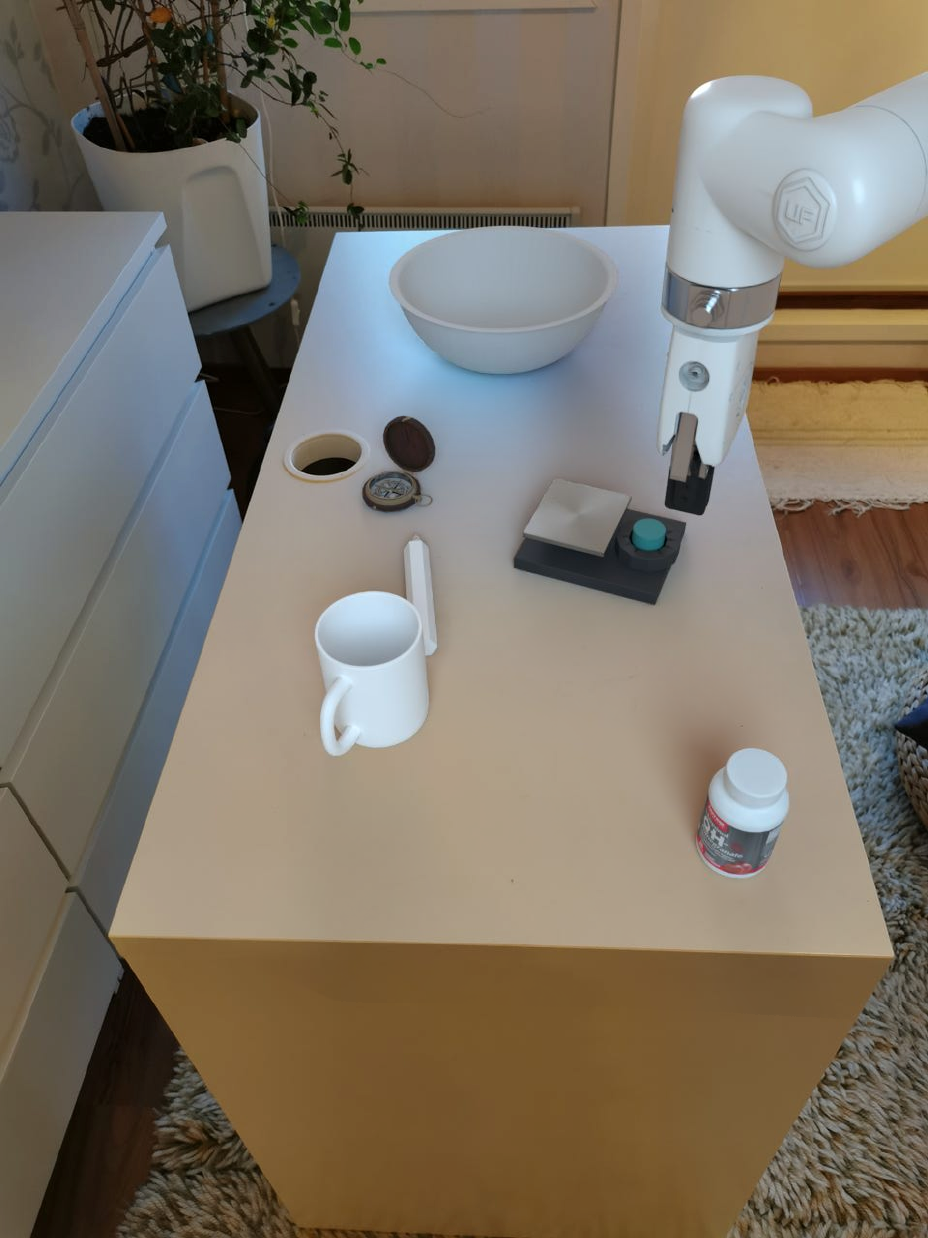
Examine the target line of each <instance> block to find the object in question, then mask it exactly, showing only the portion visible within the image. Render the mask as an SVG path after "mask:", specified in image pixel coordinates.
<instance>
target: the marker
mask: <svg viewBox="0 0 928 1238" xmlns="http://www.w3.org/2000/svg"><path fill="white" fill-rule="evenodd" d="M430 559H431V558H430V548H429V546H428V545H427V544H426V543H425V542H424V541H423V540H422V539H421V538H420V536H419V535H418V534H417V531H414V534H413V536H412V538H411V539H410V540H409V541H408V543H407V544H406V545H405V547H404V549H403V562H404V578H405V592H406V595H405V596H406V600H407V601H409V602H410V603H411V604H412V605H413V606H414V607H415V608H416V609H417V611H418V612H419V614H420V616H421V619H422V625H423V636H424V647H425V657H426V656H432V655H433V654H434V652H435V651H436V649H437V648H438V637H437V626H436V614H435V602H434V593H433V582H432V581H433V580H432V572H431V571H432V570H431V560H430Z"/></svg>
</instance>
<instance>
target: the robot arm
mask: <svg viewBox="0 0 928 1238" xmlns="http://www.w3.org/2000/svg"><path fill="white" fill-rule="evenodd" d="M679 131H680V132H679V139H678V147H677V148H678V149H677V158H676V167H675V176H674V183H673V194H672V201H671V202H672V203H671V212H670V221H669V230H668V239H667V247H666V257H665V265H664V273H663V274H664V276H663V283H662V284H663V285H662V292H661V300H660V311H661V314H662V316H663V317H664V318H665V320H666V321H668V322H669V323H670V324H672V328H671V335H670V339H669V340H670V341H669V346H668V351H667V355H666V356H667V359H666V365H665V370H664V377H663V384H662V389H661V390H662V391H661V398H660V405H659V413H658V420H657V421H658V422H657V430H656V431H657V432H656V450H657V452H658V454H659V455H660V456H662V457H663V456H664V457H665V455H666V454H668V452H669V450H670V448H671V452H670V453H671V454H670V463H669V464H670V465H669V467H668V468H669V469H668V475H667V476H668V477H667V483H666V488H665V489H666V490H665V496H664V497H665V498H664V507H665V508H667V509H669V510H672V511H673V510H674V511H677V512H682V513H686V514H691V515H695V516H703V515H704V514H705V511H706V508H707V507H708V505H709V502H710V499H711V498H710V497H711V492H712V485H713V480H714V474H715V469H716V467H718V466H720V465H722V463H724V462H725V460H726V458H727V456H728V454H729V452H730V450H731V447H732V445H733V444H734V441H735V438H736V436H737V433H738V431H739V430H740V426H741V425H742V421H743V419H744V416H745V414H746V411H747V408H748V404H749V399H750V396H751V395H750V394H751V388H752V381H753V374H754V367H755V361H756V355H757V348H758V342H759V336H760V330H763V329H764V328H765V327H767V326H768V325H770V323H771V322H772V321H773V318H774V315H775V311H776V306H777V302H778V297H779V292H780V286H781V282H782V277H783V272H784V267H785V261H786V258H787V259H788V260H789V261H792V262H794V263H796V264H798V265H802V266H805V267H807V268H812V269H817V270H818V269H819V270H833V269H838V268H841V267H844V266H848V265H851V264H852V263H854V262H857V261H859V260H861V259H862V258H864V257H866V256H868V255H869V254H870V253H872V252H874V251H875V250H877V249H878V248H880V247H882V246H883V245H885V244H886V243H888V242H889V241H891V240H893V239H894V238H896V237H897V236H898V235H900V234H901V233H903V232H904V231H906V230H907V229H909V228H911V227H912V226H914V225H915V224H917V223H919V222H920V221H922V220H923V219H925V218H927V217H928V70H927V71H925V72H922V73H920V74H917V75H915V76H913V77H910V78H909V79H908V78H907V79H906V80H904V81H901V82H899V83H897V84H895V85H893V86H891V87H889V88H886V89H884V90H882V91H879V92H878V93H875V94H872V95H870V96H868V97H866V98H865V99H862V100H861V101H857V102H856V103H855V104H852V105H850V106H848V107H847V108H844V109H841V110H839V111H835V112H830V113H827V114H824V115H819V116H814V107H813V103H812V99H811V98H810V96H809V95H808V93H807V91H805V90H804V89H803V88H802V87H801V86H799V84H797V83H794V82H791V81H788V80H786V79H782V78H779V77H774V76H768V75H756V74H752V75H751V74H742V75H741V74H740V75H730V76H725V77H720V78H716V79H713V80H709V81H707V82H705V83H703V84H702V85H700V86H699V87H697V88H696V89H695V90H694V91H693V92H692V94H691V95H690V96H689V97H688V99H687V101H686V103H685V106H684V108H683V110H682V117H681V124H680V130H679Z"/></svg>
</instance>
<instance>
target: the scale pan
mask: <svg viewBox="0 0 928 1238" xmlns="http://www.w3.org/2000/svg"><path fill="white" fill-rule="evenodd" d="M632 497H633V496H632V495H630V494H626V493H621V492H617V491H612V490H609V489H604V488H600V487H595V486H591V485H587V484H582V483H577V482H573V481H569V480H564V479H561V478H557V477H554V478H553V480H552V482H551V484H550V485H549V487H548V489H547V491H546V493H544V495H543V497H542V499H541V501H540V502H539V504H538V506H537V507H536V509H535V511H534V513H533V514H532V516H531V518H530V519H529V521H528V523H527V525H526V526H525V527H524V530H523V532H522V537H523V538H524V539H525V538H529V539H533V540H537V541H541V542H545V543H549V544H553V545H557V546H561V547H565V548H569V549H573V550H577V551H581V552H585V553H589V554H593V555H597V556H600V557H604V556H605V554H606V551H607V549H608V547H609V545H610V543H611V541H612V539H613V537H614V535H615V533H616V531H617V529H618V527H619V525H620V523H621V520H622V518H623V516H624V514H625V512H626V510H627V509H629V506H630V504H631V502H632Z"/></svg>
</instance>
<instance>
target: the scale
mask: <svg viewBox="0 0 928 1238" xmlns="http://www.w3.org/2000/svg"><path fill="white" fill-rule="evenodd" d="M642 519H655V520H658V521H660V522H661V523H662V524H663V525H664V526H665V528H666V533H665V540H664V544H663V546H662V547H661V548H660V549H658V550H654V551H645V550H641V549H638V548H637V547H636V546H635V545H634V544H633V542H632V536H633V528H634V525H635V523H636V522H638V521H639V520H642ZM686 527H687V522H685V521H681V520H676V519H673V518H670V517H669V518H668V517H664V516H660V515H656V514H652V513H647V512H645V511H638V510H635V509H630V508H627V510H626V512H625V514H624V516H623V518H622V520H621V523H620V525H619V527H618V529H617V531H616V533H615V535H614V537H613V539H612V541H611V543H610V545H609V547H608V549H607V551H606V554H605V556H604V557H600V556H597V555H593V554H589V553H585V552H581V551H577V550H573V549H569V548H565V547H561V546H557V545H553V544H549V543H545V542H541V541H537V540H533V539H529V538H525V537H524V539H523V541H522V543H521V545H520V546H519V548H518V550H517V552H516V553H515V555H514V557H513V569H516V570H520V571H524V572H526V573H527V572H529V573H531V574H534V575H539V576H543V577H546V578H550V579H554V580H558V581H561V582H565V583H566V582H567V583H569V584H573V585H577V586H580V587H584V588H588V589H591V590H595V591H599V592H604V593H607V594H611V595H614V596H619V597H623V598H626V599H629V600H634V601H637V602H640V603H645V604H648V605H653V606H656V604H657V601H658V599H659V597H660V594H661V592H662V589H663V587H664V584H665V582H666V581H667V577H668V575H669V573H670V570H671V567H672V566H673V565H674V564H676V562H677V559H678V556H679V554H680V549H681V543H682V541H683V538H684V536H685V533H686V529H687V528H686Z"/></svg>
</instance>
